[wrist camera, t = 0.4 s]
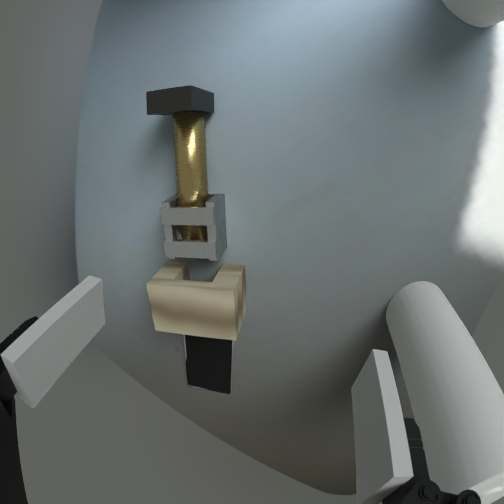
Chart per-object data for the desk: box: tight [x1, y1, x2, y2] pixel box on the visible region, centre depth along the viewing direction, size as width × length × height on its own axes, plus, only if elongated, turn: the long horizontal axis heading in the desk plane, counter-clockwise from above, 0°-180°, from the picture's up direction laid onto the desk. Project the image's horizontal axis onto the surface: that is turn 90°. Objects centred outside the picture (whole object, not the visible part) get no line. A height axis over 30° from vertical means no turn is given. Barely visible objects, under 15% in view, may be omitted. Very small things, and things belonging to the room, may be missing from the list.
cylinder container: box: [386, 281, 504, 504], centre depth 26 cm, size 9×9×30 cm
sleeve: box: [160, 194, 227, 261], centre depth 38 cm, size 7×6×5 cm
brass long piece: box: [146, 86, 214, 241], centre depth 34 cm, size 18×5×8 cm, turn 1°
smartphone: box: [183, 334, 234, 394], centre depth 49 cm, size 8×1×15 cm
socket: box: [146, 261, 246, 340], centre depth 41 cm, size 7×11×7 cm, turn 91°
